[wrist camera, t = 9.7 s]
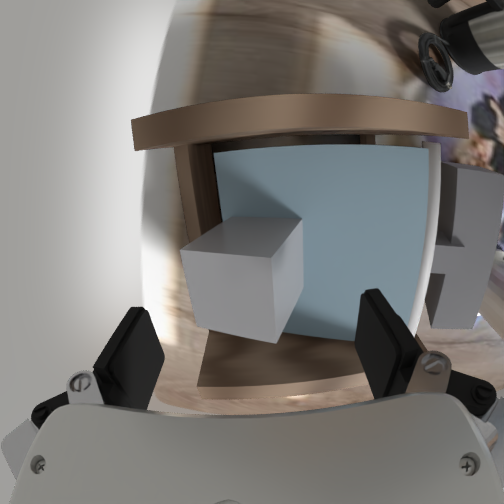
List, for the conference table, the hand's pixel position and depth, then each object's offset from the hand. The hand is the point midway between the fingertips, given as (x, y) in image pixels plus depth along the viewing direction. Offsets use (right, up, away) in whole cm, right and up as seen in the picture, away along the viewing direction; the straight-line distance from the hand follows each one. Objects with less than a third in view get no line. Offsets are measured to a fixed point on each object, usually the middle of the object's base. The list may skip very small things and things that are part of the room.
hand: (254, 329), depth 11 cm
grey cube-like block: (+1, +3, +8) cm, 8 cm away
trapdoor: (+10, +5, +10) cm, 15 cm away
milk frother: (+26, +29, +9) cm, 40 cm away
